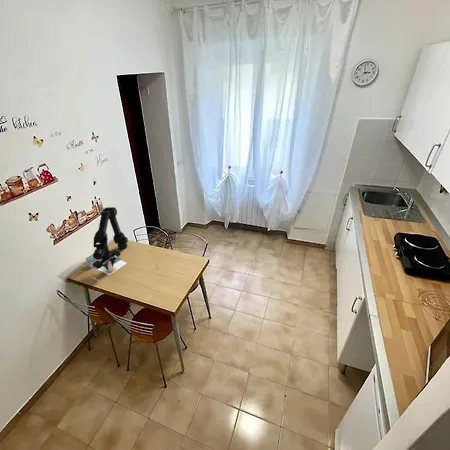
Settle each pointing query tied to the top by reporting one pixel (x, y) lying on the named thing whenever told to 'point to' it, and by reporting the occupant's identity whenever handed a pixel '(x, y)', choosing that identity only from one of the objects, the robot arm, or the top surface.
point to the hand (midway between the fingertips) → (109, 268)
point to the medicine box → (91, 261)
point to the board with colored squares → (116, 266)
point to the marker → (109, 266)
